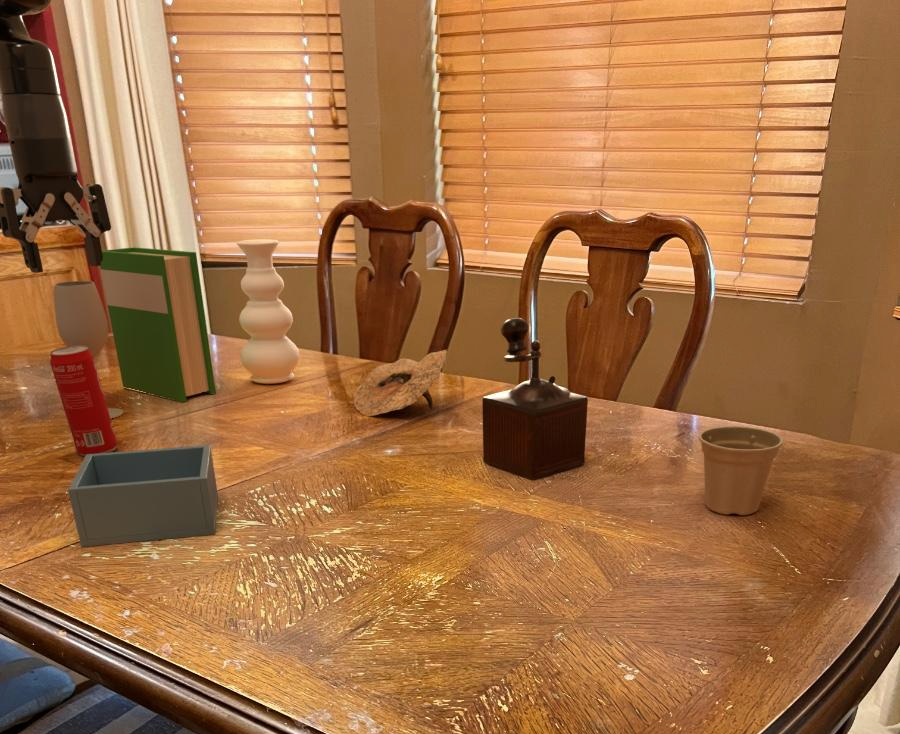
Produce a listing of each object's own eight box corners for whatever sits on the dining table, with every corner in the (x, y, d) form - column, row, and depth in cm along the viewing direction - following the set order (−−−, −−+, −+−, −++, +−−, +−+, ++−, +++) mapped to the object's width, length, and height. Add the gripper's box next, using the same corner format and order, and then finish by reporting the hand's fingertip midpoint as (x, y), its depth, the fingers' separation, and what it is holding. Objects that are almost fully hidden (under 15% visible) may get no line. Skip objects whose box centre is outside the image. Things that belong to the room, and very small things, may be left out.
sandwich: (356, 450, 146) (333, 412, 142) (382, 408, 156) (362, 371, 152) (447, 421, 137) (426, 379, 133) (469, 378, 147) (449, 338, 143)
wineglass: (74, 423, 141) (44, 288, 131) (80, 411, 147) (52, 281, 137) (122, 419, 142) (96, 285, 132) (126, 407, 149) (102, 279, 139)
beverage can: (125, 450, 127) (104, 347, 120) (82, 461, 123) (58, 354, 116) (106, 442, 131) (85, 341, 124) (64, 452, 127) (40, 349, 120)
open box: (81, 547, 96) (67, 489, 93) (97, 506, 107) (86, 454, 104) (215, 534, 98) (206, 478, 95) (218, 496, 109) (210, 444, 106)
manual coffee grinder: (590, 463, 119) (598, 328, 110) (532, 481, 112) (536, 340, 104) (514, 438, 129) (516, 314, 121) (457, 453, 123) (455, 324, 115)
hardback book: (215, 393, 156) (195, 252, 145) (182, 402, 151) (158, 256, 140) (157, 380, 166) (133, 247, 155) (123, 388, 161) (97, 251, 150)
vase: (233, 380, 165) (214, 240, 153) (281, 371, 171) (267, 236, 160) (263, 390, 158) (246, 244, 146) (312, 380, 164) (300, 239, 153)
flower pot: (679, 512, 102) (687, 442, 98) (703, 488, 109) (712, 421, 105) (760, 527, 98) (772, 454, 94) (780, 501, 105) (791, 432, 101)
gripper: (75, 136, 118) (99, 262, 126) (-30, 136, 109) (2, 272, 116) (105, 135, 114) (127, 265, 121) (-2, 134, 104) (30, 276, 112)
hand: (66, 269), depth 119 cm, fingers open, 8 cm apart
